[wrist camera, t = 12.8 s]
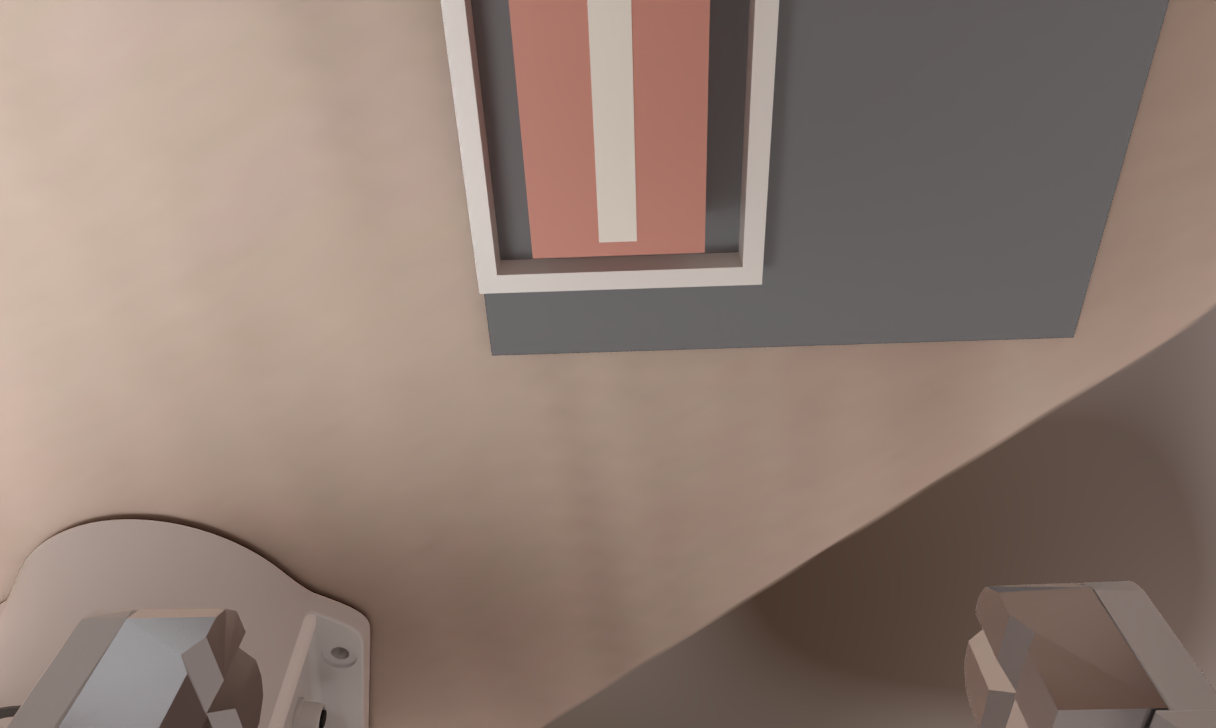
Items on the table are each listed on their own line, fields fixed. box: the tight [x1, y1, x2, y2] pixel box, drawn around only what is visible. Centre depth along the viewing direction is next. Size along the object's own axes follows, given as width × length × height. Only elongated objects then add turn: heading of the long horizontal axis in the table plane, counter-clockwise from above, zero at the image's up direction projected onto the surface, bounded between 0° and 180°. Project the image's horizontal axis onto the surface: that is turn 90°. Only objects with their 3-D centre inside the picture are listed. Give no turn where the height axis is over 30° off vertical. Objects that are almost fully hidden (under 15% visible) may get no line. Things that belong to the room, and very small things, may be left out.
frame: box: [440, 0, 779, 294], centre depth 28 cm, size 13×10×1 cm
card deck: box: [509, 0, 710, 259], centre depth 27 cm, size 9×6×3 cm, turn 3°
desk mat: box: [471, 0, 1169, 356], centre depth 28 cm, size 20×22×1 cm
